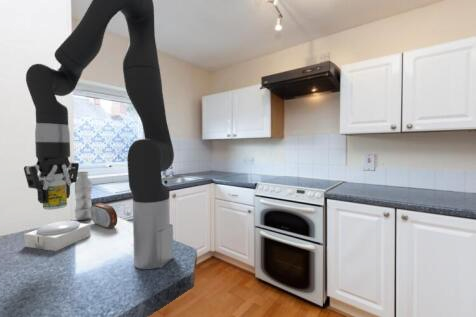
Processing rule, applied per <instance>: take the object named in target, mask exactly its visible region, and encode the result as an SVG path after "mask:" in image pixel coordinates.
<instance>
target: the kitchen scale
mask: <svg viewBox="0 0 476 317" xmlns="http://www.w3.org/2000/svg"><path fill="white" fill-rule="evenodd" d="M89 237H91V223H82V222H79V220H64V221H63V220H62V221H56V222H51V223H48V224H45V225H42V226H39V227H38V228H37V229H35V230H32V231H29V232H26V233H24V247H25V246H26V247H25V248H31V249H40V250H47V251H54V252H58V251H60V250H61V249H64V248H66V247H67V246H70V245H73V244H74V243H76V242H77V243H78V242H79V241H81V240H84V239H86V238H89Z"/></svg>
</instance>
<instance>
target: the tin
mask: <svg viewBox="0 0 476 317" xmlns="http://www.w3.org/2000/svg"><path fill="white" fill-rule="evenodd" d="M90 219H91V220H92V222H93V223H94V224H95V225H97V226H100V227H102V228H105V229H111V228H113V227H114V228H115V227H116V226H117V224H118V215H117V211H116V210H115V208H114V207H113V206H112V205H109V204H106V203H102V202H98V203H95V204H92V207H91V218H90Z"/></svg>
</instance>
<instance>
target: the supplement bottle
mask: <svg viewBox="0 0 476 317" xmlns="http://www.w3.org/2000/svg"><path fill="white" fill-rule="evenodd" d="M44 178H46V177H44ZM62 178H63V173H62V174H54V176H53V179H52V181H51V182H50V183H49V185H48V188H47V190H48V201H49V202H48V203H45V204H44V203H42V208H43V210H47V211H49V210H58V209H63V208H65V207H66V206H67V205H68V200H67V199H68V198H67V193H66V182H65V181H64V180H62Z"/></svg>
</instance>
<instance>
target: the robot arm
mask: <svg viewBox="0 0 476 317" xmlns="http://www.w3.org/2000/svg"><path fill="white" fill-rule="evenodd" d="M119 12H120V13H121V14H122V15H123V16H124V18H125V22H126V26H127V30H128V31H127V32H128V38H129V39H128V46H127V49H126V52H125V54H124V57H123V60H122V71H123V72H122V73H123V78H124V85H125V86H124V87H125V90H126V93H127V96H128V99H129V100H130V102H131V104H132V106H133V108H134V110H135V111H136V113H137V115H138V117H139V119H140V121H141V126H142V129H143V134H144V135H143V136H144V138H139V139H136V140H134V141H133V142H132V143H131V145H130V147H129V149H128V152H127V157H126V159H127V162H126V163H127V174H128V175H127V176H128V186H129V190H130V191H131V194H132V223H133V224H132V227H133V228H132V229H133V232H132V234H133V265H134V267H136V268H137V269H140V270H153V269H162V268H164V266H166V265H167V264H168V263H169V262H170V261H171V260H172V259H173V258H174V224H173V223H170V222H171V221H170V220H171V219H170V218H171V217H170V216H171V214H170V213H171V211H170V205H171V204H170V202H171V201H170V188H169V187H168V186H167V185H165V184H163V181H162V180H163V179H162V172H165V171H168V169H170V167H172V165H173V163H174V158H175V153H174V152H175V151H174V146H173V143H172V139H171V134H170V131H169V125H168V123H167V121H168V120H167V115H166V114H167V113H166V108H165V100H164V95H163V94H164V93H163V84H162V83H163V82H162V76H161V69H160V68H161V67H160V63H159V56H158V49H157V43H156V31H155V30H156V29H155V7H154V0H92V1H91V3H90V4H89V6H88V8H87V9H86V11H85V13H84V15H83V17H82V18H81V20H80V21H79V23H78V24H77V26H76V27H75V29H73V31H72V32H71V33H70V35H68V37H67V38H66V39H65V40H64V41H63V42H62V43H61V44H60V46H58V48H57V49H56V50H55V52H54V58H55V60H56V61H57V62H58V63H59V65H60V67H59V68H58V69H57V68H54V67H51V66H49V65H46V64H43V63H35V64H32V65H31V66H29V68H28V69H27V71H26V73H25V83H26V85H27V88H28V91H29V94H30V98H31V101H32V102H33V105H34V109H35V123H36V124H35V130H34V131H35V132H34V139H35V140H34V141H35V157H36V159H37V162H35V163H36V164H34V165H25V166H24V167H23V171H24V175H25V178H26V183H27V186H28V188H29V189H33V190H36V191H37V201H38V202H39V203H40V204H43V203H44V204H45V203H48V202H49V201H48V190H47V188H48V185H49V183H50V182H51V181H52V179H53V176H54V174H62V173H63V178H62V180H64V181H65V182H66V193H67V199H69V198H70V195H71V186H72V184H74V183H75V182H76V181H77V179H78V177H77V174H78V172H79V167H80V164H79V162H70V160H69V158H70V157H71V135H70V134H71V133H70V128H69V110H68V108H67V106H66V105H65V104H63V103H61V102H59V101H58V99H57V96H58V97H65V96H68V95H70V94H71V93H72V92H74V90H75V89H76V87H77V85H78V83H79V80H80V79H81V77H82V74H83V71H84V70H85V69H86V68H87V67H88V66H89V65H90V64H91V62H93V60H94V59H96V57H97V56H98V54H99V53H100V51H101V48H102V46H103V42H104V39H105V38H104V37H105V33H106V29H107V27H108V25H109V24H110V21H111V20H112V19H113V18H114V16H116V15H117V14H118V13H119ZM38 173H39V174H38ZM45 177H46V178H45Z"/></svg>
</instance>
